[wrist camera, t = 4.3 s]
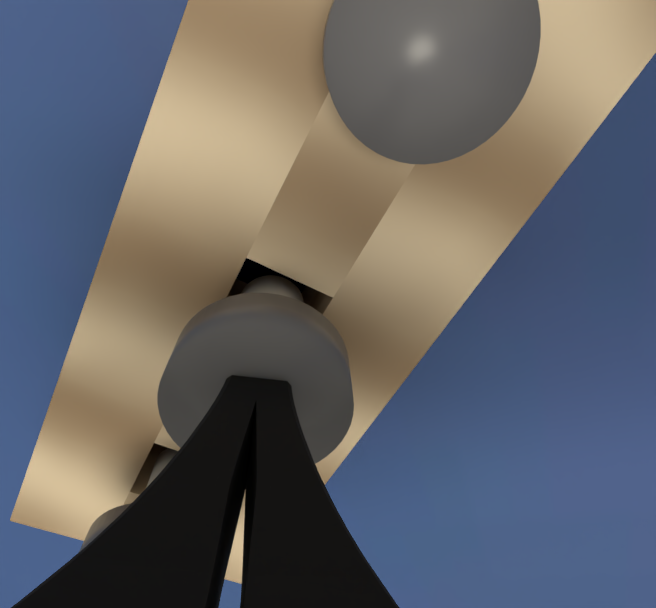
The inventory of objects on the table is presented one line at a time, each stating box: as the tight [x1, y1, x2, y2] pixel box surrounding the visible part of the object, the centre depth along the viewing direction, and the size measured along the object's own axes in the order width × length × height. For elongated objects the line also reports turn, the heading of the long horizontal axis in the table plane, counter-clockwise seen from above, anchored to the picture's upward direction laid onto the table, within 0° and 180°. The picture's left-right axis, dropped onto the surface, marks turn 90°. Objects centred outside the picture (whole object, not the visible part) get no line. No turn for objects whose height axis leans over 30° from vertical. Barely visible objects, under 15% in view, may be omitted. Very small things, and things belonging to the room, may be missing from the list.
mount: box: [10, 0, 656, 584], centre depth 16 cm, size 26×10×4 cm, turn 151°
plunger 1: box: [157, 275, 354, 464], centre depth 13 cm, size 4×4×5 cm
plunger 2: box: [322, 0, 541, 164], centre depth 12 cm, size 4×4×5 cm
